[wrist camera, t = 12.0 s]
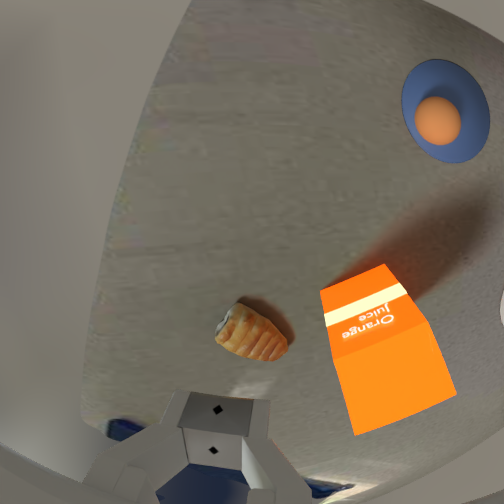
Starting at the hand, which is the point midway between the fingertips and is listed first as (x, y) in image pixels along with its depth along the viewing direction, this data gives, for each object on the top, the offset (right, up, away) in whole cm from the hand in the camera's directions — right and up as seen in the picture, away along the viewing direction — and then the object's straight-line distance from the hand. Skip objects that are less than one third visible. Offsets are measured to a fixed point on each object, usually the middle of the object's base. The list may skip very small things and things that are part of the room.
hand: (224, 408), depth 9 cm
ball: (+21, +19, +19) cm, 35 cm away
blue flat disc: (+24, +22, +21) cm, 39 cm away
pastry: (+1, -5, +33) cm, 33 cm away
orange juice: (+15, -1, +30) cm, 33 cm away
